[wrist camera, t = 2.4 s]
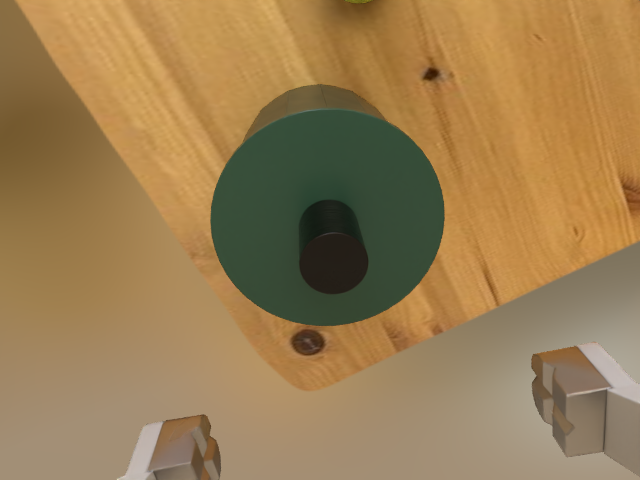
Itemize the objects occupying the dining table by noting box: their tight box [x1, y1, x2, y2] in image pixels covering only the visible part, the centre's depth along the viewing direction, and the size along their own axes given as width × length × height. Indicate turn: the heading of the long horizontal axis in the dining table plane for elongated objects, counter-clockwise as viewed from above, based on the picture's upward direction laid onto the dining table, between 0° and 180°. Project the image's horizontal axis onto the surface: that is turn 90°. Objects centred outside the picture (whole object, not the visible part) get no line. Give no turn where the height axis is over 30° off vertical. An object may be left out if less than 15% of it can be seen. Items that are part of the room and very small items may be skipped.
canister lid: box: [211, 107, 445, 326], centre depth 26 cm, size 13×13×6 cm
